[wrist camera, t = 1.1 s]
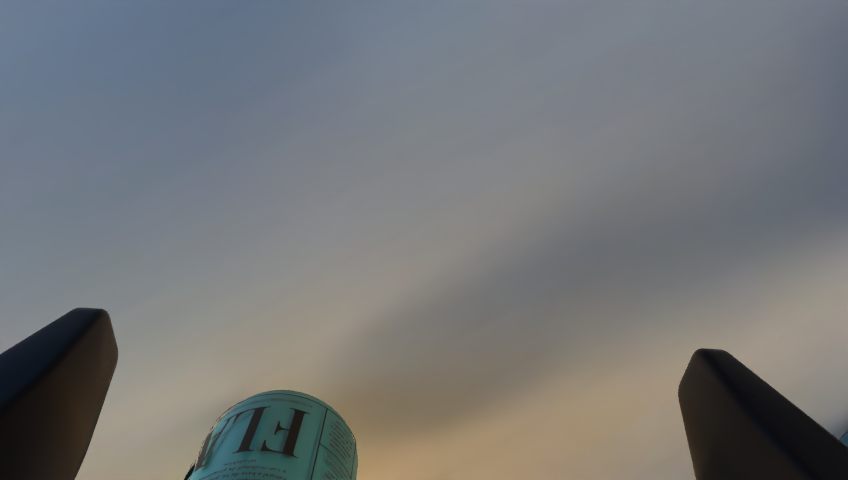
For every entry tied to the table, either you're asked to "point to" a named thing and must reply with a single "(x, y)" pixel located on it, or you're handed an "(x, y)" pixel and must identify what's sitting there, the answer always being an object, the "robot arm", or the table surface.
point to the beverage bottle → (278, 441)
